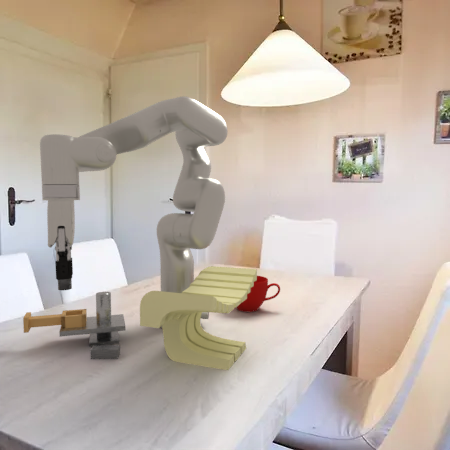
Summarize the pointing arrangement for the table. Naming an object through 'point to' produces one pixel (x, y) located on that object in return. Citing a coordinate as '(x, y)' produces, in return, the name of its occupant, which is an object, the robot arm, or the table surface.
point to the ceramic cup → (257, 295)
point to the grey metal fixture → (100, 323)
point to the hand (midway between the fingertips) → (64, 276)
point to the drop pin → (65, 283)
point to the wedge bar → (105, 352)
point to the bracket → (56, 319)
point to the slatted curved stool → (199, 316)
